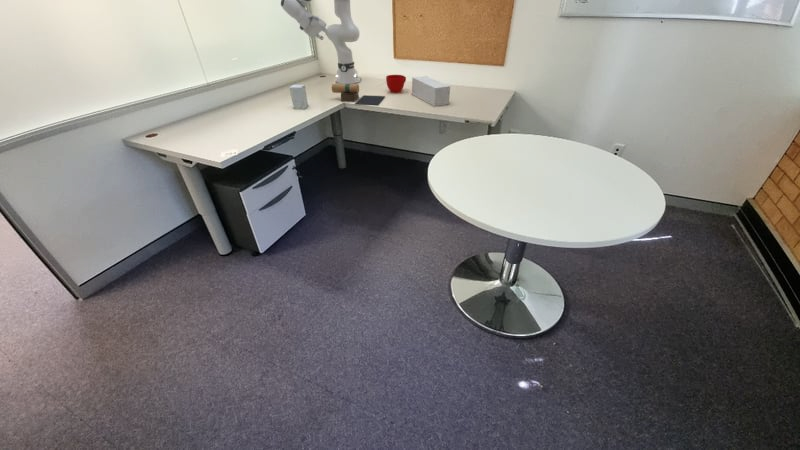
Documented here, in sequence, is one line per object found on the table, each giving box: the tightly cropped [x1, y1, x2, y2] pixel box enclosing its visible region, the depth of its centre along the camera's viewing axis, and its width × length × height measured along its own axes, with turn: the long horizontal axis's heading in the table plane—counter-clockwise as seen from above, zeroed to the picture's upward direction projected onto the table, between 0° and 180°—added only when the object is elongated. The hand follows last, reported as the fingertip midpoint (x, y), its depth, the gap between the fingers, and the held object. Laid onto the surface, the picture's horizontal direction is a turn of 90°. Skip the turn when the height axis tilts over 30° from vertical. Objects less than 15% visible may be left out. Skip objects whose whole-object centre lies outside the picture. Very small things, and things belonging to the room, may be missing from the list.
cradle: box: [340, 92, 360, 103], centre depth 216 cm, size 10×9×5 cm
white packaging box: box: [289, 84, 309, 110], centre depth 200 cm, size 7×7×13 cm
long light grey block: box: [411, 75, 451, 107], centre depth 214 cm, size 32×11×11 cm, turn 24°
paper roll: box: [331, 83, 360, 94], centre depth 214 cm, size 17×6×6 cm, turn 79°
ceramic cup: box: [385, 74, 407, 94], centre depth 231 cm, size 13×17×10 cm
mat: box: [354, 95, 386, 106], centre depth 215 cm, size 20×15×1 cm
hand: (325, 37), depth 205 cm, fingers open, 8 cm apart
